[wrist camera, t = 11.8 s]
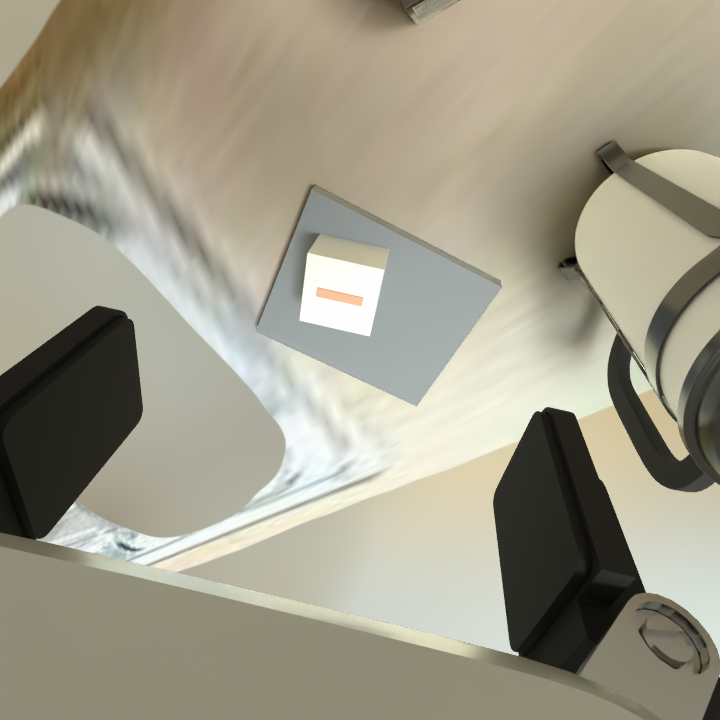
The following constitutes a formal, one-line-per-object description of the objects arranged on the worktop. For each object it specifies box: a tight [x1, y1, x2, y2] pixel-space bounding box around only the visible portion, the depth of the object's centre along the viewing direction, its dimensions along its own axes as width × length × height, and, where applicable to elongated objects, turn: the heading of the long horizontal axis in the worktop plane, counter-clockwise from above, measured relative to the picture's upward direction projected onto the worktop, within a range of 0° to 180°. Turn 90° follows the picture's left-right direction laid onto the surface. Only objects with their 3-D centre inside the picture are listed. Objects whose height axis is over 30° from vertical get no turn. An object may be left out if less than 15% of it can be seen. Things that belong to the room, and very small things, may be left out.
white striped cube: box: [300, 234, 390, 336], centre depth 42 cm, size 6×6×5 cm
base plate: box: [256, 185, 502, 406], centre depth 47 cm, size 19×16×2 cm
